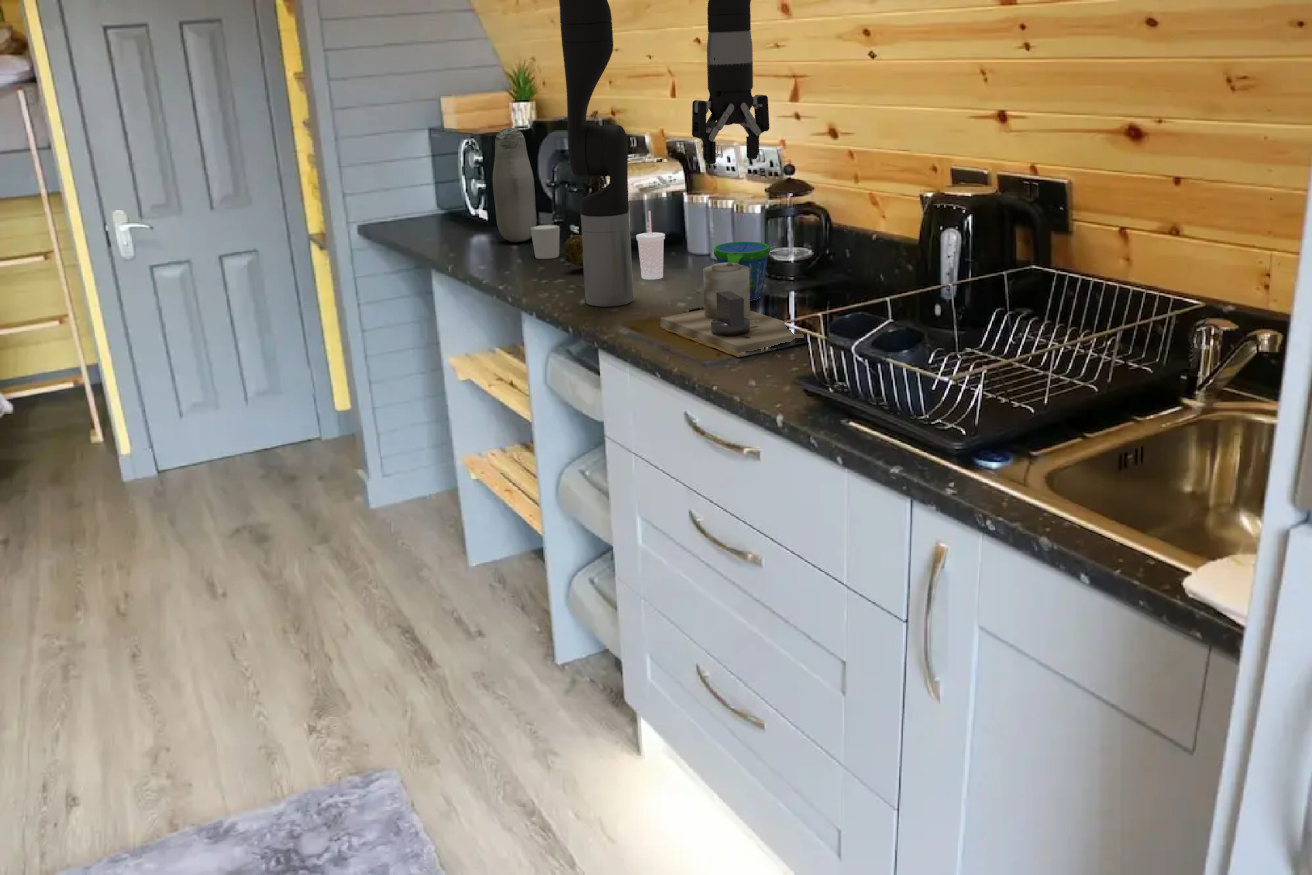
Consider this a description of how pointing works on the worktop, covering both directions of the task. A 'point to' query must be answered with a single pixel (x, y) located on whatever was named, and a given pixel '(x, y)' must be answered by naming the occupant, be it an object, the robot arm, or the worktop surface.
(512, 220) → the grey bottle
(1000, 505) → the worktop surface
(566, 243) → the potato
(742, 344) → the base
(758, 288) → the snack cup
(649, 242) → the beverage cup
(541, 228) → the white tapered cup
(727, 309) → the dark grey rotary knob
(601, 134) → the robot arm
